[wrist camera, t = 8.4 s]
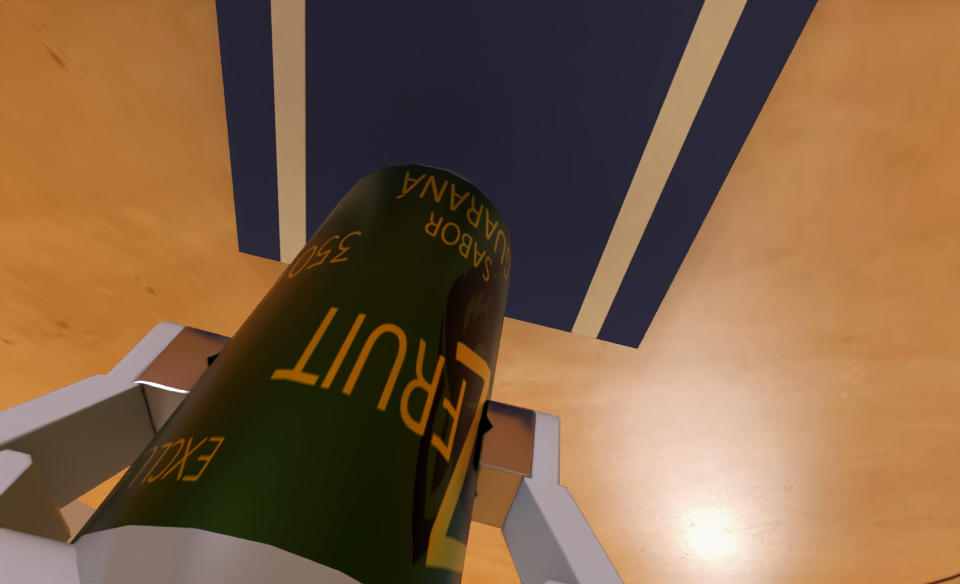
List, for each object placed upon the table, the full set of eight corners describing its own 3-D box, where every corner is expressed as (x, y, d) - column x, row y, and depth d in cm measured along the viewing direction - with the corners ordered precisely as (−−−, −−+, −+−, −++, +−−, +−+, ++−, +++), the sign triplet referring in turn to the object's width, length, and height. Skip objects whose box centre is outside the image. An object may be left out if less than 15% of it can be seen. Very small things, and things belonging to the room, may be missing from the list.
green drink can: (451, 334, 18) (318, 807, 9) (313, 246, 17) (-26, 693, 7) (552, 229, 15) (524, 766, 6) (397, 113, 14) (18, 562, 4)
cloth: (242, 248, 29) (238, 252, 28) (203, -193, 18) (196, -195, 18) (636, 344, 29) (637, 349, 28) (832, -37, 18) (837, -36, 18)
